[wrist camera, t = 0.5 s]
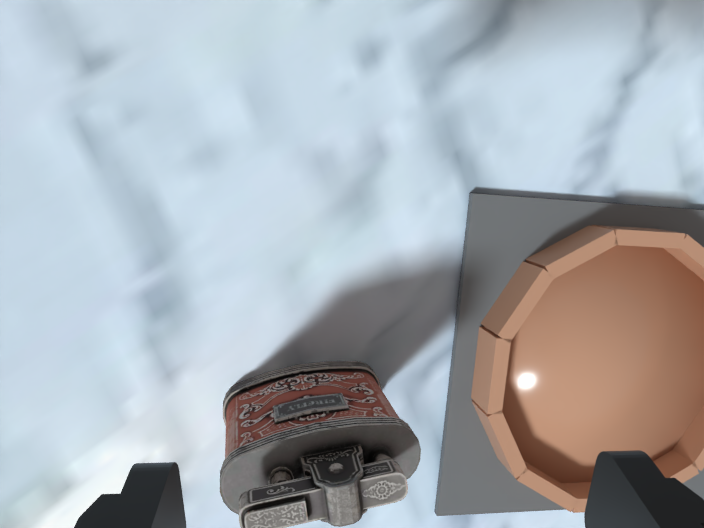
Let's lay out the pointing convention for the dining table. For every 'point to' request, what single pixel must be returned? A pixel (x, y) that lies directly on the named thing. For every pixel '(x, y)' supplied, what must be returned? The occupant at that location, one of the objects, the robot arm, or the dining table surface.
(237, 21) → the dining table surface
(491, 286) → the mat
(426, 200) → the dining table surface
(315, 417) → the lighter
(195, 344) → the dining table surface
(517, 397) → the dish
